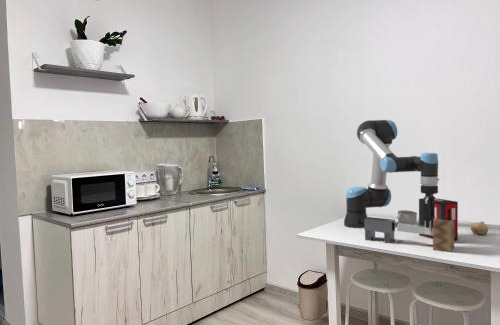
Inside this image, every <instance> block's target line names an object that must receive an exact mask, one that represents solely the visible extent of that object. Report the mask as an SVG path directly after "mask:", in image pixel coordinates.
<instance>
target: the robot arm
mask: <svg viewBox="0 0 500 325" xmlns="http://www.w3.org/2000/svg"><path fill="white" fill-rule="evenodd" d="M397 136H398V127H397V125H396V122H394V121H393V120H391V119H377V120H375V119H373V120H371V119H369V120H365V121H363V122H361V123H360V124H359V126H358V127H357V129H356V137H357V138H358V140H359V141H360V143H362V144H364V145H366V147H367V148H368V149H369V150H370V151H371V152H372V155H373V156H372V167H371V178H370V183H369V184H368V185H367V187H365V186H352V187H350V188H348V189H347V190H346V195H345V197H346V198H345V200H346V202H345V203H346V214H345V217H344V220H343V225H344V226H345V227H347V228H356V229H357V228H359V229H360V228H362V229H363V228H364V219H365V218H367V217H368V214H367V208H369V209H370V208H383V207H387V206H388V205H389V204H390V203H391V201H392V192H391V190H390V188H389V186H388V185H387V173H389V174H391V173H403V172H405V173H406V172H407V173H408V172H420V184H421V185H420V193H421V194H425V196H424V197H423V198H424V200H423V202H424V219H423V220H424V221H425V234H431V221H430V220H431V216H435V198H436V197H435V196H434V195H436V194H438V193H439V186H438V185H439V181H440V178H439V159H438V158H439V155H438V154H437V153H435V152H422V153H420V156H417V155H412V156H397V155H396V154H395V153H394V152H393V151H392V150H391V149H390V146H391V145H392V144H393V140H395V139H396V138H397ZM434 218H436V217H434Z"/></svg>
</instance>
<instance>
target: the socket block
mask: <svg viewBox="0 0 500 325" xmlns="http://www.w3.org/2000/svg"><path fill="white" fill-rule="evenodd" d="M454 249H455V241H454V221H451V220H441V219H437V220H435V221H434V222H433V239H432V251H438V250H439V252H445V251H446V253H452V252H453V250H454Z"/></svg>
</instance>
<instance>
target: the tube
mask: <svg viewBox="0 0 500 325" xmlns="http://www.w3.org/2000/svg"><path fill="white" fill-rule="evenodd" d="M430 221H431V234H427V235H433V222H434V216H431V220H430ZM396 228H397V229H396V230H397V232H402V233H410V234H418V235H419V234H425V226H422V225H419V224H413V225H412V224H403V223H400V222H398V223H397V226H396Z"/></svg>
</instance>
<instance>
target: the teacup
mask: <svg viewBox="0 0 500 325" xmlns="http://www.w3.org/2000/svg"><path fill="white" fill-rule="evenodd" d="M417 215H418V213H417V212H416V211H414V210H404V209H403V210H398V211H397V217H396V218H397V221H398V223H403V224H412V225H416V222H417Z"/></svg>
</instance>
